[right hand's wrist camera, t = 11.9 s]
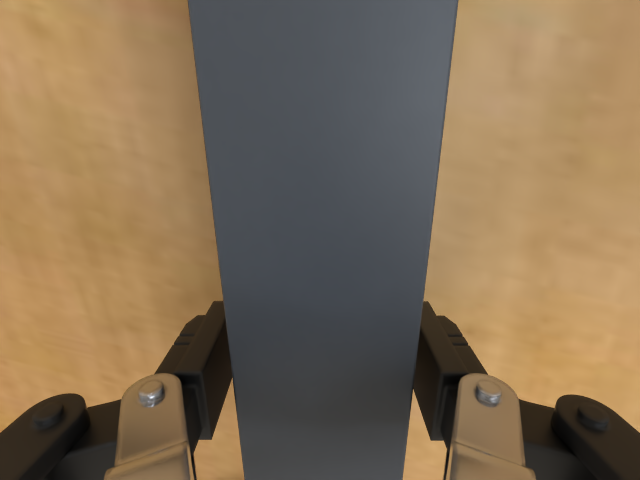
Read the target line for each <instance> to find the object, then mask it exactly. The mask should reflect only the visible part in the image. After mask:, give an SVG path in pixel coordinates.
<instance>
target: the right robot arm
mask: <svg viewBox="0 0 640 480" xmlns="http://www.w3.org/2000/svg"><path fill="white" fill-rule="evenodd" d="M231 379H232V369H231V361H230V352H229V344H228V335H227V327H226V318H225V310H224V302H223V301H214V302H213V303H212V305H211V307H210V308H209V310H208V312H207V314H206V315H198V316H196V317H195V318H194V319H192V320H191V321H190V322H188V323H187V324H186V325H185V327H184V328H183V330H182V331H181V333H180V336H178V338H177V339H176V341H175V342H174V345H173V346H172V347H171V349H170V350H169V352H168V353H167V355H166V357H165V358H164V360H163V361H162V363H161V365H160V366H159V368H158V369H157V371H156V372H155V374H154V375H150V376H147V377H145V378H143V379H141V380H139V381H137V382H136V383H134V384H133V385H132V386H130V387H129V388H128V389H127V391H126V392H125V393H124V395H123V397H122V399H120V400H117V401H113V402H109V403H105V404H101V405H96V406H92V407H88V408H87V406H86V403H85V400H84V398H83V397H82V396H80V395H78V394H71V393H69V394H61V395H57V396H53V397H50V398H48V399H45V400H43V401H41V402H39V403H38V404H36V405H34V406H33V407H31V408H30V409H28V410H27V411H26V412H24V413H23V414H22V415H21V416H20V417H18V418H17V419H16V420H15V421H14V422H13V423H11V424H10V425H9V426H8V427H7V428H6V429H4V430H3V431H2V432H1V433H0V480H197V473H196V465H195V458H194V451H195V448H196V445H197V443H198V440H212V437H213V434H214V431H215V428H216V425H217V422H218V419H219V416H220V413H221V410H222V407H223V404H224V401H225V398H226V395H227V392H228V388H229V385H230V382H231ZM413 389H414V392H415V395H416V398H417V401H418V404H419V407H420V410H421V413H422V416H423V419H424V422H425V425H426V428H427V431H428V434H429V437H430V439H431V441H444V442H445V445H446V448H447V452H446V458H445V465H444V473H443V480H640V433H639V432H638V431H637V430H636V429H634V428H633V427H632V426H631V425H630V424H629V423H627V422H626V421H625V420H624V419H623V418H622V417H620V416H619V415H618V414H617V413H616V412H614V411H613V410H612V409H610V408H609V407H607V406H605V405H604V404H602V403H600V402H598V401H595V400H593V399H590V398H587V397H584V396H579V395H564V396H562V397H560V398H559V399H558V400H557V402H556V405H555V408H551V407H547V406H543V405H539V404H535V403H530V402H527V401H523V400H520V399H518V397H517V395H516V393H515V392H514V391H513V389H512V388H511V387H510V386H508V385H507V384H506V383H504V382H503V381H501V380H499V379H497V378H495V377H493V376H490V375H488V374H487V372H486V371H485V369H484V368H483V366H482V364H481V363H480V361H479V360H478V358H477V357H476V355H475V354H474V352H473V350H472V349H471V347H470V346H468V343H467V341H466V340H465V338H464V337H463V336H462V333H461V332H460V330H459V329H458V327H457V326H456V324H454V323H453V322H452V321H450V320H449V319H448V318H446V317H445V316H436V314H435V312H434V311H433V309H432V307H431V305H430V304H429V302H427V301H423V307H422V316H421V325H420V333H419V342H418V350H417V359H416V367H415V376H414V384H413Z"/></svg>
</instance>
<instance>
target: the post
mask: <svg viewBox="0 0 640 480" xmlns="http://www.w3.org/2000/svg"><path fill="white" fill-rule="evenodd" d="M188 7H189V15H190V24H191V32H192V41H193V49H194V57H195V66H196V74H197V83H198V91H199V100H200V108H201V116H202V125H203V133H204V142H205V150H206V158H207V167H208V175H209V184H210V192H211V201H212V209H213V217H214V226H215V234H216V243H217V251H218V259H219V268H220V276H221V285H222V293H223V302H224V310H225V318H226V327H227V335H228V344H229V352H230V361H231V369H232V377H233V386H234V394H235V403H236V411H237V419H238V428H239V436H240V445H241V453H242V462H243V470H244V478H245V480H402V479H403V470H404V461H405V453H406V444H407V436H408V427H409V419H410V410H411V402H412V393H413V384H414V376H415V367H416V359H417V350H418V342H419V333H420V325H421V316H422V307H423V299H424V290H425V282H426V273H427V265H428V256H429V247H430V239H431V230H432V222H433V213H434V205H435V196H436V188H437V179H438V170H439V162H440V153H441V145H442V136H443V128H444V119H445V110H446V102H447V93H448V85H449V76H450V68H451V59H452V51H453V42H454V33H455V25H456V16H457V8H458V0H188Z"/></svg>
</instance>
